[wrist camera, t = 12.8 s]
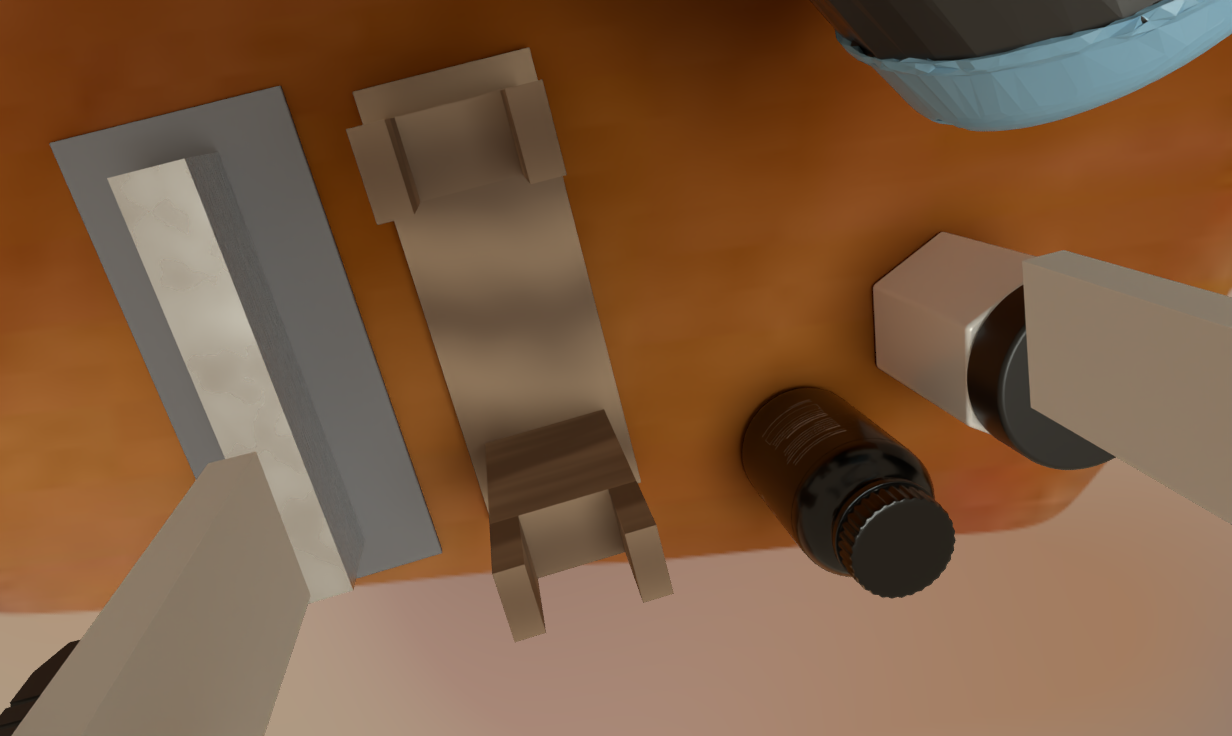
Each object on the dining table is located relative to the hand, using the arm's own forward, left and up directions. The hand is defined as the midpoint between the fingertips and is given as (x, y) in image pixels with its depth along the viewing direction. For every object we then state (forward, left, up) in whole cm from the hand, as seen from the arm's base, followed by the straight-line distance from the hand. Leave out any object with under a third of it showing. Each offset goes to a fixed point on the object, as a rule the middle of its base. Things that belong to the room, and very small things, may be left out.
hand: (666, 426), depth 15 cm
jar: (+11, +20, -30) cm, 37 cm away
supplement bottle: (+16, +11, -30) cm, 35 cm away
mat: (+4, -14, -29) cm, 33 cm away
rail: (+4, -14, -29) cm, 33 cm away
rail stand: (+4, -2, -29) cm, 30 cm away
